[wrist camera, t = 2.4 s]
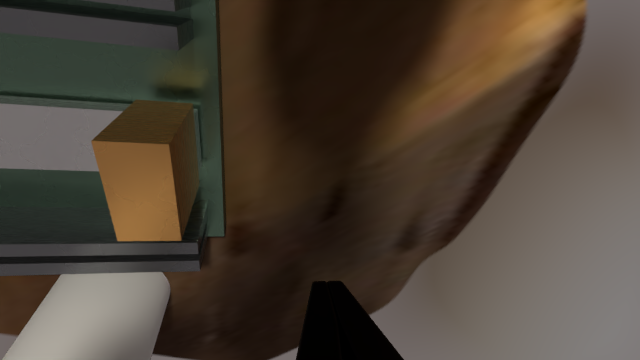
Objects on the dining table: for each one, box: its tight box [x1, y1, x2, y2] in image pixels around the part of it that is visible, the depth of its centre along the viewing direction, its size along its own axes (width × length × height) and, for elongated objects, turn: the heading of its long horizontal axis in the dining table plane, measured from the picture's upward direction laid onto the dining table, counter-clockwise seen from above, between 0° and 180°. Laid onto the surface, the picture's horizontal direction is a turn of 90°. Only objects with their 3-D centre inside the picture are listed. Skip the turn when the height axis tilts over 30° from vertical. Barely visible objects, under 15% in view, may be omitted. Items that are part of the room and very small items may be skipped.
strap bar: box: [0, 95, 202, 241], centre depth 13 cm, size 14×4×5 cm, turn 83°
